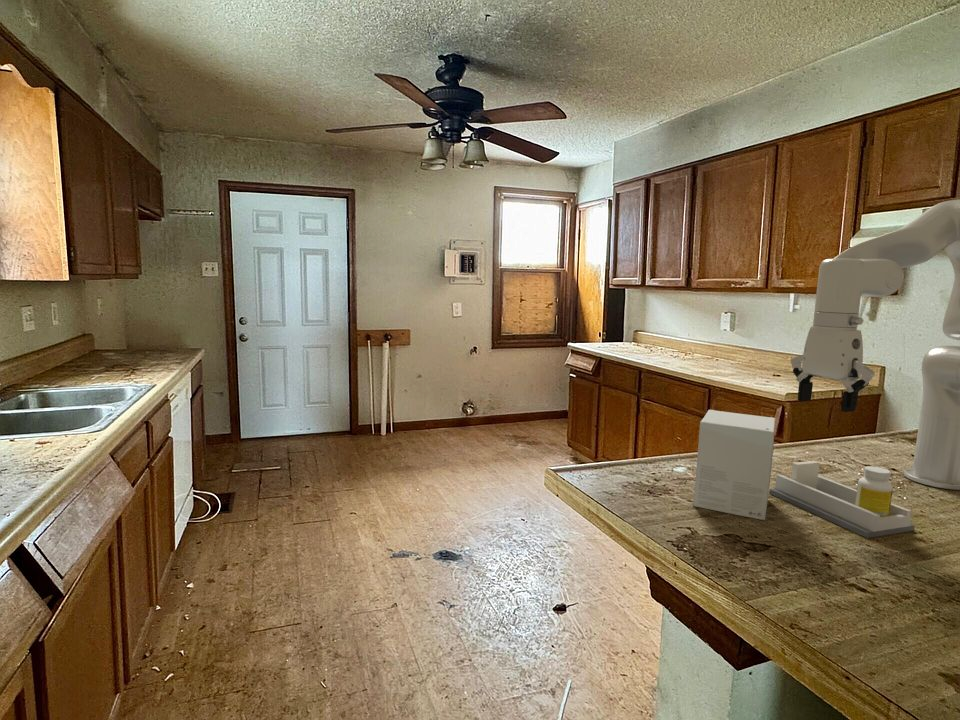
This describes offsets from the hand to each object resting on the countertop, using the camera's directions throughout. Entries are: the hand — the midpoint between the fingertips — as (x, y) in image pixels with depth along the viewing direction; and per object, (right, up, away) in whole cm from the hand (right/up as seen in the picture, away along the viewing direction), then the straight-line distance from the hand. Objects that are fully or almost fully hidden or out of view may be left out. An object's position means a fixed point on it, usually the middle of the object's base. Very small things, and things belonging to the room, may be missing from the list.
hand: (825, 405), depth 117 cm
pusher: (-1, -18, +5) cm, 19 cm away
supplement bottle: (+4, -21, -8) cm, 23 cm away
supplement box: (-19, -20, +1) cm, 27 cm away
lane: (+1, -21, -2) cm, 21 cm away
